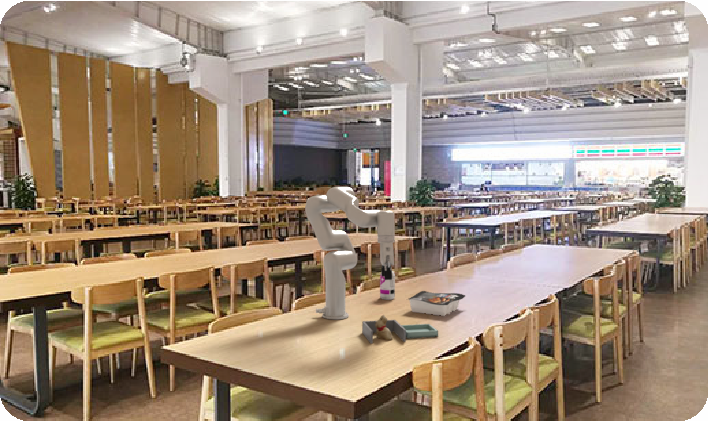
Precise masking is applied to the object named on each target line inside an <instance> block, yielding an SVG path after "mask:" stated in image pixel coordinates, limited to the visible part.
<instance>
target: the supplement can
mask: <svg viewBox="0 0 708 421" xmlns="http://www.w3.org/2000/svg"><path fill="white" fill-rule="evenodd" d="M379 277H380V278H379V298H380V299H381V300H383V301H384V300H386V301H389V300H390V301H391V300H394V299H395V297H396V295H395V294H396V293H395V292H396V281H395V280H396V275H395V271H394V270H392V280H385V279H384V276H381V273H380V274H379Z"/></svg>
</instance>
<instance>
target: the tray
mask: <svg viewBox="0 0 708 421" xmlns="http://www.w3.org/2000/svg"><path fill="white" fill-rule="evenodd" d="M400 325H401V324H400ZM401 326H402V327H404V328H405V329H406V339H420V338H421V339H422V337H424V338H436V337H435V336H438V337H439V329H436V328H435V327H434V326H433V325H431V324H430V323H421V324H420V323H419V324H418V323H417V324H402V325H401Z"/></svg>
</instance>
